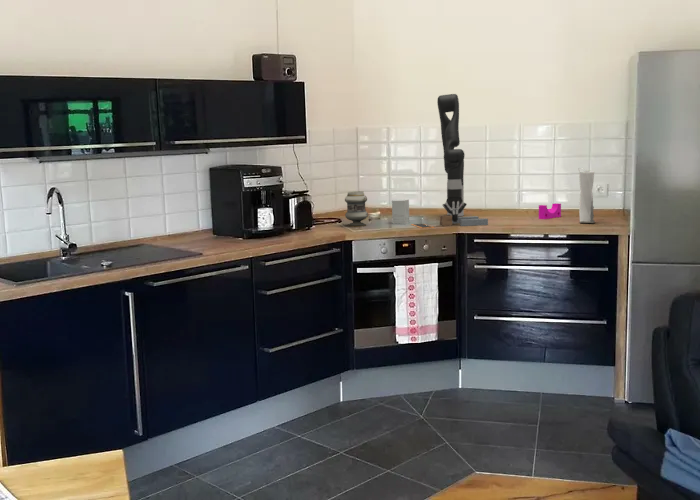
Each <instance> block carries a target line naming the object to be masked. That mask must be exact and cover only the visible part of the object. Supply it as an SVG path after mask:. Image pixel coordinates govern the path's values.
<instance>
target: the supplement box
mask: <svg viewBox="0 0 700 500" xmlns="http://www.w3.org/2000/svg"><path fill="white" fill-rule="evenodd" d="M391 218H392V220H391V221H392V224H393V225H406V224H409V223H410V199H405V198H404V199H393V200H391Z"/></svg>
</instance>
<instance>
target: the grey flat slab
mask: <svg viewBox="0 0 700 500" xmlns="http://www.w3.org/2000/svg"><path fill="white" fill-rule="evenodd" d="M453 224H454V225H455V224H459V226H461V227H468V226H469V227H472V226H488V225H489V218H479V216H476V215H475V216H474V215H473V216H458V220H457V222H453V221H452V225H453Z"/></svg>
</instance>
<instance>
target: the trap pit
mask: <svg viewBox="0 0 700 500" xmlns="http://www.w3.org/2000/svg"><path fill="white" fill-rule="evenodd" d="M426 225H427V224H426V223H413V224H412V223H411V224H410V226H414V227H416V226H417V228H419V229H432V228H436V227H435V226H432V225H429V226H426ZM431 226H432V227H431Z"/></svg>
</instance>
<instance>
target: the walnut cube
mask: <svg viewBox="0 0 700 500" xmlns="http://www.w3.org/2000/svg"><path fill="white" fill-rule="evenodd" d="M441 225H442V227H446V226H447V227H448V226H449V227H450V226H453V223H452V216H451V215H447V214H442V215H439V226H441Z"/></svg>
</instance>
